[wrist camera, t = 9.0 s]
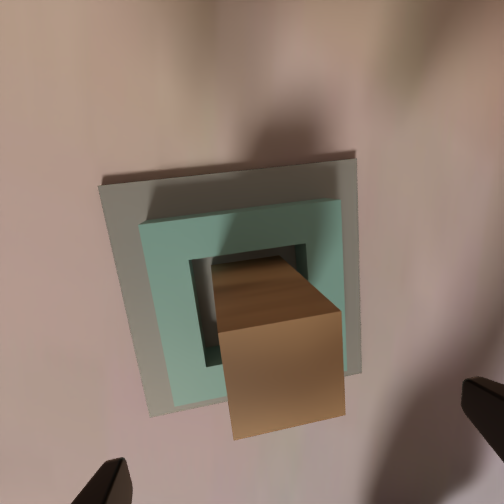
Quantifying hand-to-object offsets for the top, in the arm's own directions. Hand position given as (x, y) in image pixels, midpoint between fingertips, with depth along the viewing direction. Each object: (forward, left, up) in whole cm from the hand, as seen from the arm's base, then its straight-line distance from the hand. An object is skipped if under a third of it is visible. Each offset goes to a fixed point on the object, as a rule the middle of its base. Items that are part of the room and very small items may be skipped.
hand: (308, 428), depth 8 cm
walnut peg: (0, 0, -10) cm, 10 cm away
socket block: (0, 0, -11) cm, 11 cm away
